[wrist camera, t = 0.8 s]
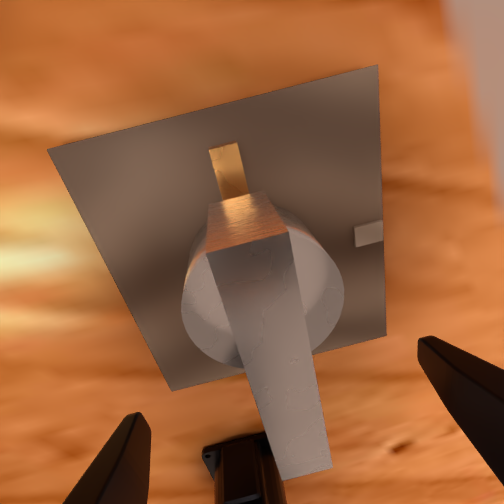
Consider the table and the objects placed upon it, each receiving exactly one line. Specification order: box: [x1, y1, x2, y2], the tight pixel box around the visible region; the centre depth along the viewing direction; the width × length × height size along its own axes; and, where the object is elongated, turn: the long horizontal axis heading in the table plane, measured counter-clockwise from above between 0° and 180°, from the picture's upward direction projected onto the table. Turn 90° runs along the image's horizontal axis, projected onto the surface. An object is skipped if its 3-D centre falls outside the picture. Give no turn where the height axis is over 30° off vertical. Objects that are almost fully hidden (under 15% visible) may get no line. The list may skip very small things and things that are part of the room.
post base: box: [47, 65, 387, 391], centre depth 17 cm, size 16×15×2 cm
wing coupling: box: [181, 140, 344, 481], centre depth 12 cm, size 12×7×8 cm, turn 13°
